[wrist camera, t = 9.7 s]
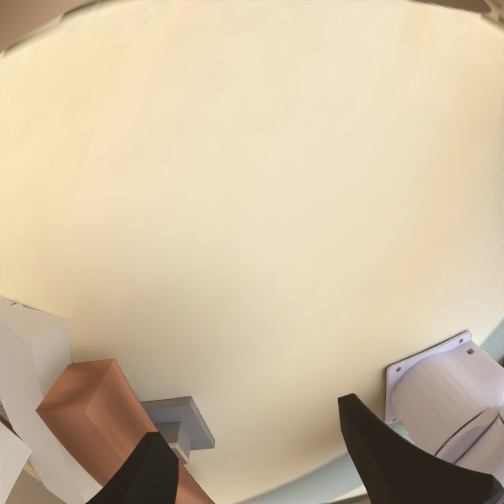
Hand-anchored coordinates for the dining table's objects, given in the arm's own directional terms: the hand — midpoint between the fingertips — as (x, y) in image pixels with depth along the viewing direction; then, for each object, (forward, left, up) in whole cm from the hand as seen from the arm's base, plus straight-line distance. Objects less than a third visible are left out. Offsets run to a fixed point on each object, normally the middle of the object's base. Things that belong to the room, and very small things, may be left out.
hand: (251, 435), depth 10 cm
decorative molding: (+26, +10, -11) cm, 30 cm away
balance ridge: (+10, +9, -10) cm, 17 cm away
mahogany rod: (+10, +9, -6) cm, 15 cm away
